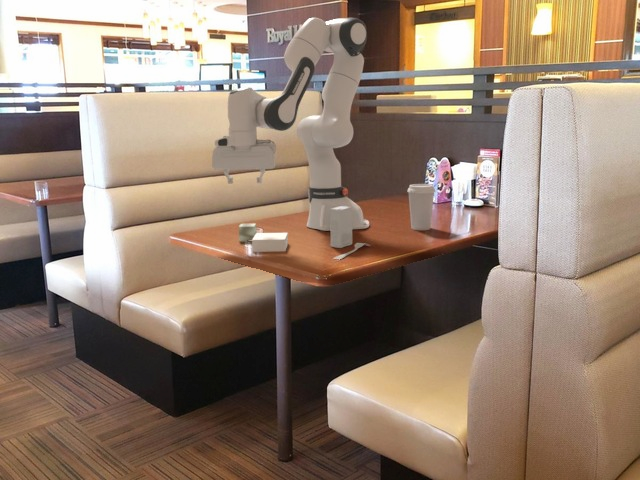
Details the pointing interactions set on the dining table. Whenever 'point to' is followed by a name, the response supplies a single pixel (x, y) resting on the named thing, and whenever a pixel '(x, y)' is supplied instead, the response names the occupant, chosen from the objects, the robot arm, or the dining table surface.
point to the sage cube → (247, 231)
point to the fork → (351, 251)
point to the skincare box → (341, 226)
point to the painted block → (269, 242)
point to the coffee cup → (421, 205)
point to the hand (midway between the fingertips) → (244, 183)
